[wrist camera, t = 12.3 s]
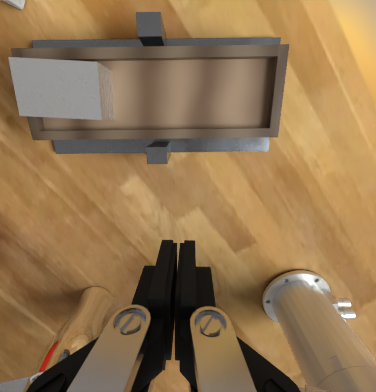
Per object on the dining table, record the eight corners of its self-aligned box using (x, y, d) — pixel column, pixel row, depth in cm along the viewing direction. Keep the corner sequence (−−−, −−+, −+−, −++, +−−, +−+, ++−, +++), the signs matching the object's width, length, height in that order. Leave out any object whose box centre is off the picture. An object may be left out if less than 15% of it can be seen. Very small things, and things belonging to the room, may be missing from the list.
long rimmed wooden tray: (279, 51, 24) (289, 44, 22) (270, 135, 27) (277, 137, 25) (27, 55, 24) (10, 48, 22) (46, 138, 28) (32, 140, 25)
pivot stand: (278, 35, 28) (306, 10, 22) (265, 153, 33) (285, 162, 27) (36, 38, 28) (-11, 14, 21) (60, 156, 33) (28, 165, 26)
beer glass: (75, 285, 41) (17, 373, 27) (111, 282, 41) (72, 369, 27) (84, 313, 44) (35, 407, 29) (119, 311, 43) (86, 404, 29)
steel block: (111, 70, 24) (97, 61, 20) (114, 119, 25) (101, 120, 22) (36, 66, 24) (8, 57, 20) (44, 116, 25) (19, 115, 21)
